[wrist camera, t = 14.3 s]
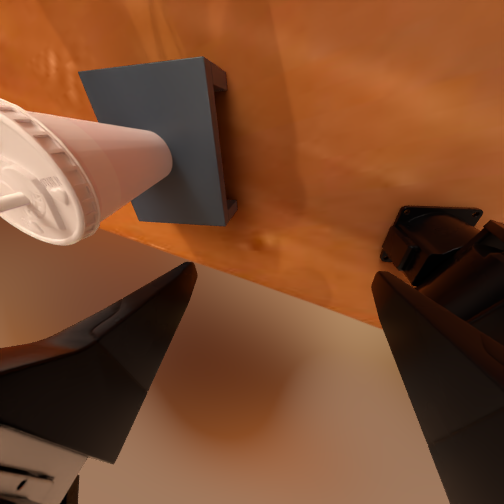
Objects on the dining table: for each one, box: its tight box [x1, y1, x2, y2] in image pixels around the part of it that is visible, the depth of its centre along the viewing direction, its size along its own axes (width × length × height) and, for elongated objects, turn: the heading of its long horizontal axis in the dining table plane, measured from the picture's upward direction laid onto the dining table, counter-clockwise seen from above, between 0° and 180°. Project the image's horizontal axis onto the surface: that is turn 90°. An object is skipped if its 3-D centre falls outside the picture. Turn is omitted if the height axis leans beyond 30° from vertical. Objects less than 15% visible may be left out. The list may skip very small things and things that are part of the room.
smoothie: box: [0, 98, 172, 245], centre depth 10 cm, size 6×6×14 cm
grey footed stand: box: [78, 56, 237, 226], centre depth 18 cm, size 10×12×4 cm
